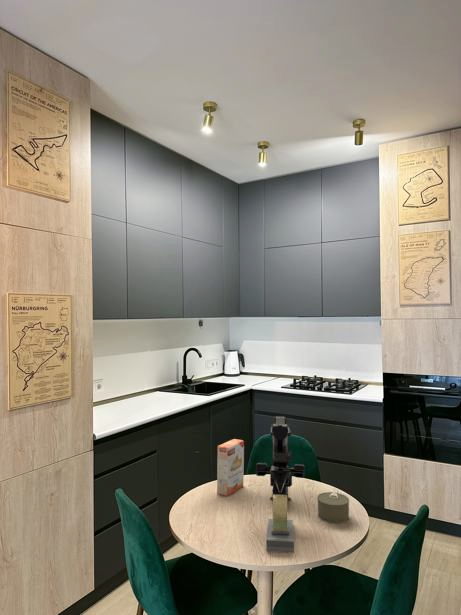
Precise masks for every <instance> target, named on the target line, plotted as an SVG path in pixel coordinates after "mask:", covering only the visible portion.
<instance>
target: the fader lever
mask: <svg viewBox="0 0 461 615" xmlns="http://www.w3.org/2000/svg"><path fill="white" fill-rule="evenodd" d="M272 519H273V524H272V534H284V535H289V525H287V520H288V501H287V495H279V494H273V500H272Z"/></svg>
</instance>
